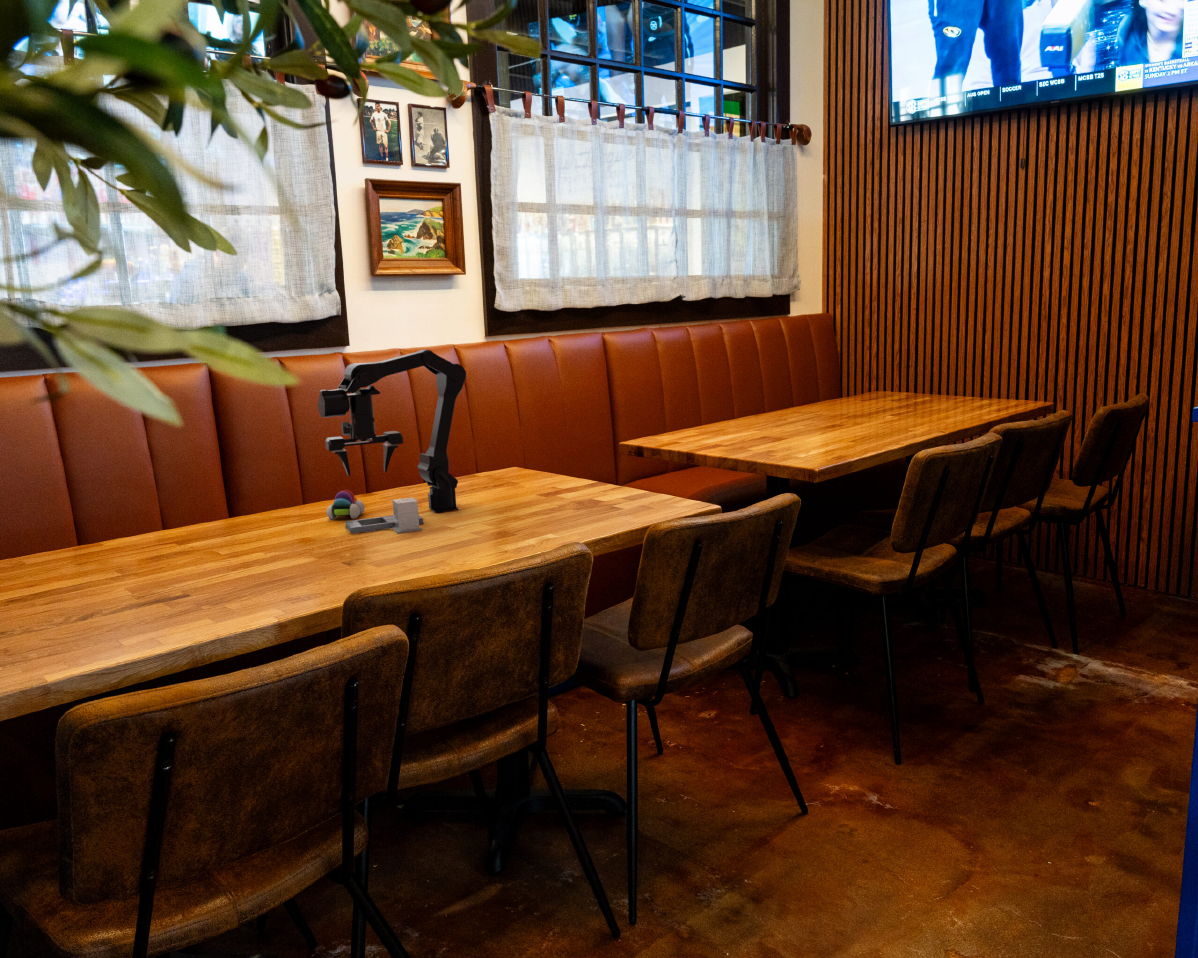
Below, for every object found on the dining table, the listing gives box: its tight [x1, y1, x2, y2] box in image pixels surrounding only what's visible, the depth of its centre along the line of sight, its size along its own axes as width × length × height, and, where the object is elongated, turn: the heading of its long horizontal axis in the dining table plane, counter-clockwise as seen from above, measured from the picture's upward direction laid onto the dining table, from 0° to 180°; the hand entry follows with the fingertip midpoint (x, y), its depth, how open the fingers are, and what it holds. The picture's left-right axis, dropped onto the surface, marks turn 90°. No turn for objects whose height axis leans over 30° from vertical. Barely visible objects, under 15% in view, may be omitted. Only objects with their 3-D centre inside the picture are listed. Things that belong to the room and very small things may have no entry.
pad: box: [391, 526, 423, 534], centre depth 244 cm, size 6×6×1 cm
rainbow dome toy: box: [326, 489, 366, 520], centre depth 260 cm, size 8×10×7 cm
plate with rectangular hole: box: [344, 514, 424, 535], centre depth 249 cm, size 18×8×2 cm, turn 114°
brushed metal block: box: [392, 497, 420, 531], centre depth 243 cm, size 5×5×7 cm
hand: (367, 474), depth 252 cm, fingers open, 9 cm apart
